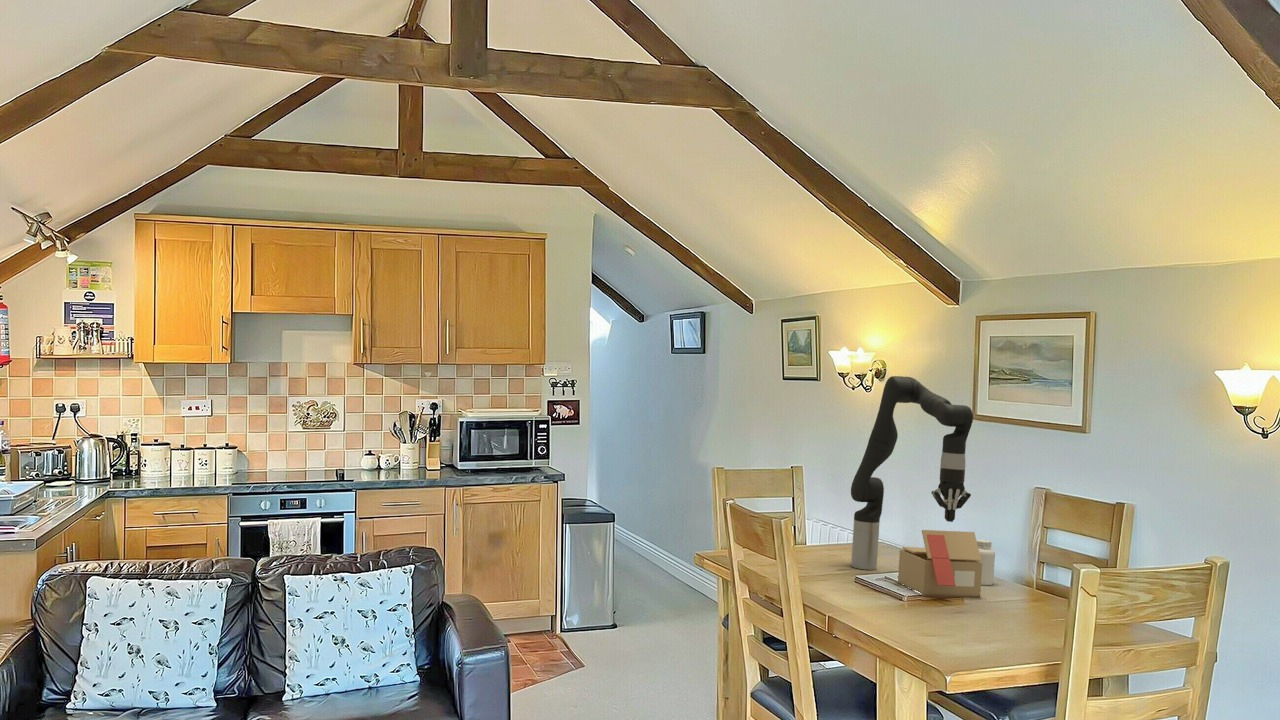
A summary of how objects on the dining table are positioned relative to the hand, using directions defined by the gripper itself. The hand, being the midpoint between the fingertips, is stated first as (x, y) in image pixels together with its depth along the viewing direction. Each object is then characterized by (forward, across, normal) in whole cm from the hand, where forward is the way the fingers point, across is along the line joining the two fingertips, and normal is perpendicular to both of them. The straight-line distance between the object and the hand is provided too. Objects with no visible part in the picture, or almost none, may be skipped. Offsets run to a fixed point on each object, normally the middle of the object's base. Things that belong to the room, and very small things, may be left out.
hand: (949, 521), depth 310 cm
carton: (+25, -5, -14) cm, 29 cm away
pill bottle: (+25, -28, -28) cm, 47 cm away
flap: (+13, -5, -5) cm, 15 cm away
